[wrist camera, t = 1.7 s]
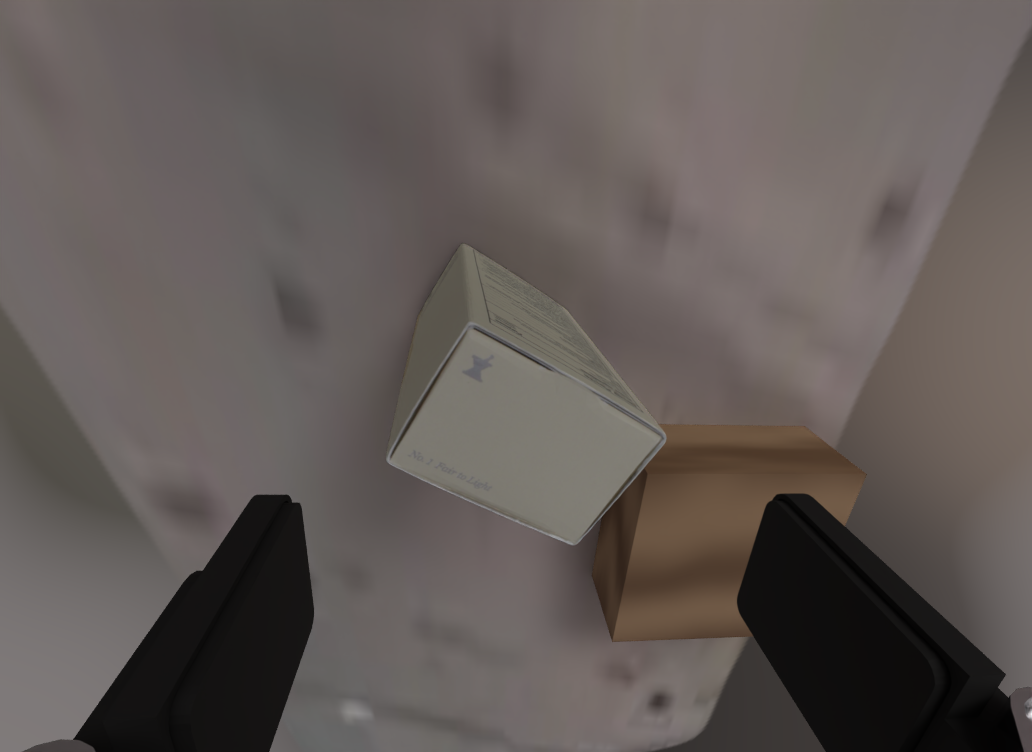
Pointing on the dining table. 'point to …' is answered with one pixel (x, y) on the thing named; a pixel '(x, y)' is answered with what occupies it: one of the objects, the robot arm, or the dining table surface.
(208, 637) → the robot arm
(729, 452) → the light wood square block
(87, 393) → the dining table surface
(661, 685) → the dining table surface
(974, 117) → the dining table surface
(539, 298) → the skincare box
